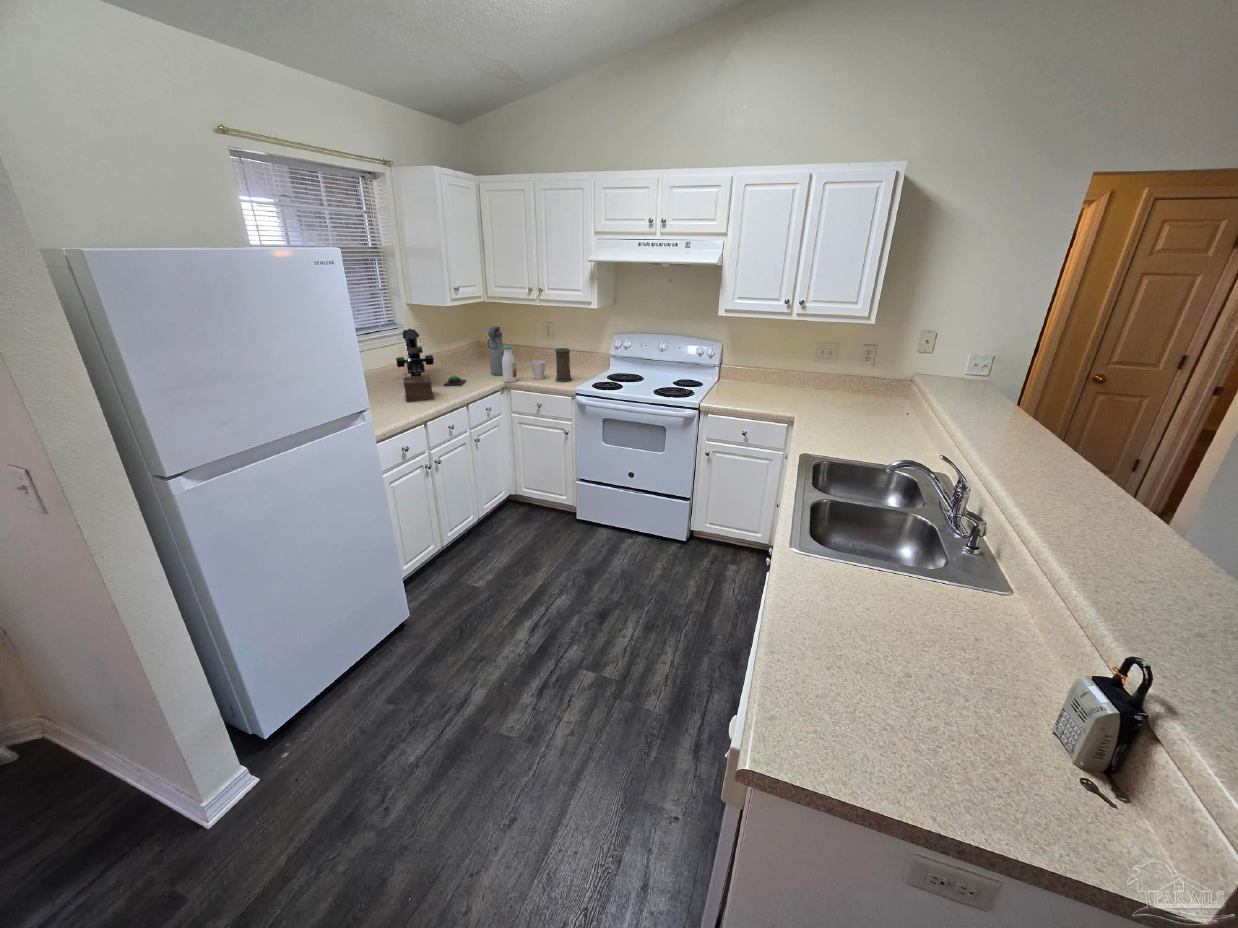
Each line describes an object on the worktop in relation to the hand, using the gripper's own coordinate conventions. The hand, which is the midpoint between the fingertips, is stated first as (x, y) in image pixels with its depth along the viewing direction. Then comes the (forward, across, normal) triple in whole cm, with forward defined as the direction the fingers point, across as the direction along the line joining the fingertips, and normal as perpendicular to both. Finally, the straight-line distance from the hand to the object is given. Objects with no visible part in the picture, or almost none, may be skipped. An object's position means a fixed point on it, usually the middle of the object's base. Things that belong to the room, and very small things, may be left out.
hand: (417, 374), depth 275 cm
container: (+14, +79, -3) cm, 80 cm away
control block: (+3, +19, +9) cm, 21 cm away
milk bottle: (+7, +50, +5) cm, 50 cm away
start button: (+1, +19, +7) cm, 21 cm away
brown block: (+18, -2, -7) cm, 19 cm away
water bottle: (-7, +48, +20) cm, 52 cm away
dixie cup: (+7, +67, +5) cm, 68 cm away
